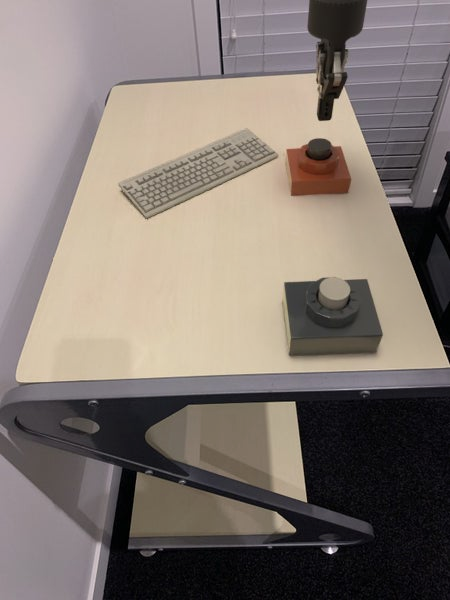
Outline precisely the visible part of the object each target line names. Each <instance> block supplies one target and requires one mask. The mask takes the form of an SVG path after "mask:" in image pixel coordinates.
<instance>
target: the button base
mask: <svg viewBox="0 0 450 600" xmlns="http://www.w3.org/2000/svg"><path fill="white" fill-rule="evenodd" d="M307 148H308V143H305V144H303V145H302V146H301V147H298V148H297V147H296V148H286V149H285V169H286V175H287V181H288V186H289V193H290V196H291V197H293V196H311V195H312V196H314V195H315V196H317V195H333V194H335V195H336V194H349V191H350V187H351V183H352V177H351V174H350V171H349V170H350V169H349V166H348V163H347V161H346V158H345V155H344V152H343V148H342V146H341V145H336V146H334V145H333V144H332V147H331V154H330V157H329V159H326V160H321V161H316V160H312V159H310V158H308V157H307Z"/></svg>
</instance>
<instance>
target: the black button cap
mask: <svg viewBox="0 0 450 600" xmlns="http://www.w3.org/2000/svg"><path fill="white" fill-rule="evenodd" d="M307 144H308V148H307V157H308V158H310V159H312V160H316V161H321V160H326V159H329V157H330V154H331V147H332V145H333V143H332V142H331V141H330V140H328V139H326V138H321V137H320V138H319V137H318V138H317V137H316V138H313V139H310V140H309V141H308V143H307Z"/></svg>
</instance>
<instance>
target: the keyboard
mask: <svg viewBox="0 0 450 600" xmlns="http://www.w3.org/2000/svg"><path fill="white" fill-rule="evenodd" d="M278 157H279V153H278V152H277V151H276V150H274V149H273V148H272V147H271V146H269V145H268V144H267V143H266V142H265V141H264V140H262V139H261V138H260V137H259V136H258V135H256V134H255V133H254V132H253V131H252V130H251V129H249V128H248V127H245V128H243V129H240V130H239V131H236V132H234V133H231V134H229V135H227V136H224V137H222V138H219V139H217V140H215V141H212V142H211V143H208V144H205V145H203V146H201V147H199V148H196V149H194V150H192V151H188V152H186V153H184V154H182V155H180V156H177V157H174V158H173V159H171V160H169V161H165V162H164V163H161V164H159V165H157V166H154V167H151V168H149V169H146V170H144V171H143V172H139V173H137V174H135V175H133V176H131V177H128V178H126V179H124V180H122V181H119V182H118V183H117V184H118V187H119V188H120V189H121V191H122V192H123V193H124V194H125V195H126V196H127V197H128V199H129V200H130V201H131V202H132V203H133V204H134V206H135V207H136V208H137V210H138V211H139V212H140V213H141V214H142V215H143V216H144V218H146V219H149V218H152V217H153V216H156V215H157V214H160V213H162V212H165V211H166V210H169V209H171V208H172V207H175V206H177V205H179V204H181V203H183V202H185V201H188V200H189V199H192V198H194V197H196V196H198V195H200V194H203V193H205V192H207V191H209V190H212V189H213V188H215V187H217V186H220V185H222V184H224V183H226V182H228V181H230V180H233V179H234V178H237V177H238V176H241V175H243V174H245V173H248V172H250V171H251V170H254V169H255V168H258V167H260V166H262V165H264V164H266V163H269V162H270V161H272V160H275V159H276V158H278Z"/></svg>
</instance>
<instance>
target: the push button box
mask: <svg viewBox="0 0 450 600" xmlns="http://www.w3.org/2000/svg"><path fill="white" fill-rule="evenodd" d="M331 277H332V276H329V277H320V278H319V279H317V280H307V281H306V280H305V281H284V282H283V289H282V290H283V292H282V308H283V316H284V326H285V334H286V342H287V343H286V344H287V352H288V356H306V355H307V356H309V355H312V356H313V355H336V354H337V355H338V354H370V353H372V354H373V353H377V351H378V349H379V346H380V343H381V341H382V338H383V336H384V333H383V330H382V325H381V322H380V318H379V315H378V312H377V308H376V305H375V302H374V298H373V294H372V292H371V291H372V290H371V288H370V283H369V280H368V278H358V279H357V278H356V279H355V278H354V279H343V280H344V281H346V282H347V283H348V285H349V286H350V294H349V298H348V302H347V304H346V306H345V307H344V308H342V309H340V310H329V309H326V308H324V307H323V306H322V305H321V304H320V303H319V301H318V293H319V288H320V284H321V282H322V281H323V280H325V279H327V278H331ZM335 277H336V276H335ZM336 278H338V277H336Z"/></svg>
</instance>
